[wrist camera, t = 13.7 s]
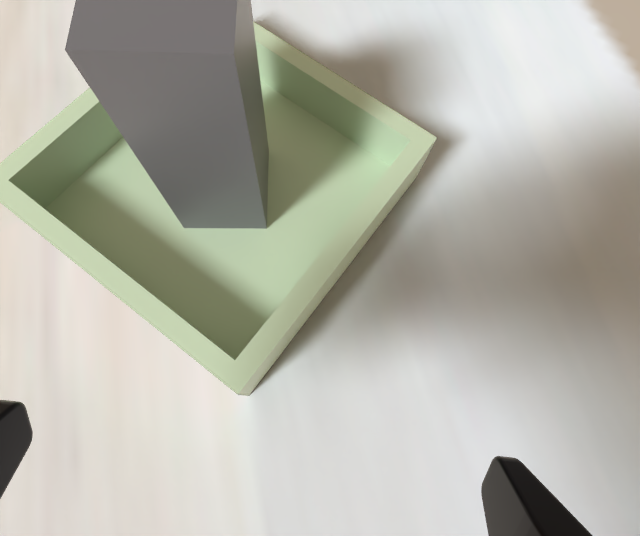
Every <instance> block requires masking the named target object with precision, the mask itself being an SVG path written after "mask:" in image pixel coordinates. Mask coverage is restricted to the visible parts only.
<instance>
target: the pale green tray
mask: <svg viewBox="0 0 640 536" xmlns="http://www.w3.org/2000/svg"><path fill="white" fill-rule="evenodd" d="M253 24H254V32H255V41H256V49H257V57H258V65H259V73H260V82H261V90H262V98H263V106H264V115H265V123H266V131H267V139H268V148H269V163H268V202H267V229H262V228H184V227H183V226H182V224H181V223H180V221H179V220H178V218H177V217H176V215H175V214H174V212H173V211H172V209H171V208H170V206H169V205H168V203H167V202H166V200H165V199H164V197H163V196H162V194H161V193H160V191H159V190H158V188H157V187H156V185H155V184H154V182H153V181H152V179H151V178H150V176H149V175H148V173H147V172H146V170H145V169H144V167H143V166H142V164H141V163H140V161H139V160H138V158H137V157H136V155H135V154H134V152H133V151H132V149H131V148H130V146H129V145H128V143H127V142H126V140H125V139H124V137H123V136H122V134H121V133H120V131H119V130H118V128H117V127H116V125H115V124H114V122H113V121H112V119H111V118H110V116H109V115H108V113H107V112H106V110H105V109H104V107H103V106H102V104H101V103H100V101H99V100H98V98H97V97H96V95H95V94H94V92H93V91H92V89H91V88H89V89H87V90H86V91H85V92H84V93H83V94H82V95H80V96H79V97H78V98H77V99H76V100H74V101H73V102H72V103H71V104H70V105H69V106H67V107H66V108H65V109H64V110H63V111H61V112H60V113H59V114H58V115H57V116H56V117H54V118H53V119H52V120H51V121H50V122H48V123H47V124H46V125H45V126H44V127H43V128H41V129H40V130H39V131H38V132H37V133H35V134H34V135H33V136H32V137H31V138H30V139H28V140H27V141H26V142H25V143H24V144H22V145H21V146H20V147H19V148H18V149H17V150H15V151H14V152H13V153H12V154H11V155H9V156H8V157H7V158H6V159H5V160H4V161H2V162H1V163H0V203H2V204H3V205H4V206H5V207H7V208H8V209H9V210H10V211H12V212H13V213H14V214H15V215H16V216H18V217H19V218H20V219H21V220H23V221H24V222H25V223H26V224H28V225H29V226H30V227H31V228H33V229H34V230H35V231H36V232H37V233H39V234H40V235H41V236H42V237H44V238H45V239H46V240H47V241H49V242H50V243H51V244H52V245H53V246H55V247H56V248H57V249H58V250H60V251H61V252H62V253H63V254H65V255H66V256H67V257H68V258H70V259H71V260H72V261H73V262H74V263H76V264H77V265H78V266H79V267H81V268H82V269H83V270H84V271H86V272H87V273H88V274H89V275H91V276H92V277H93V278H94V279H95V280H97V281H98V282H99V283H100V284H102V285H103V286H104V287H105V288H107V289H108V290H109V291H110V292H112V293H113V294H114V295H115V296H116V297H118V298H119V299H120V300H121V301H123V302H124V303H125V304H126V305H128V306H129V307H130V308H131V309H133V310H134V311H135V312H136V313H137V314H139V315H140V316H141V317H142V318H144V319H145V320H146V321H147V322H149V323H150V324H151V325H152V326H154V327H155V328H156V329H157V330H158V331H160V332H161V333H162V334H163V335H165V336H166V337H167V338H168V339H170V340H171V341H172V342H173V343H175V344H176V345H177V346H178V347H179V348H181V349H182V350H183V351H184V352H186V353H187V354H188V355H189V356H191V357H192V358H193V359H194V360H196V361H197V362H198V363H199V364H200V365H202V366H203V367H204V368H205V369H207V370H208V371H209V372H210V373H212V374H213V375H214V376H215V377H217V378H218V379H219V380H220V381H221V382H223V383H224V384H225V385H226V386H228V387H229V388H230V389H231V390H233V391H234V392H235V393H236V394H238V395H246V396H249V395H250V394H251V393H252V391H253V390H254V389H255V387H256V386H257V385H258V383H259V382H260V381H261V379H262V378H263V377H264V376H265V374H266V373H267V372H268V370H269V369H270V368H271V366H272V365H273V364H274V363H275V361H276V360H277V359H278V357H279V356H280V355H281V353H282V352H283V351H284V349H285V348H286V347H287V346H288V344H289V343H290V342H291V340H292V339H293V338H294V336H295V335H296V334H297V333H298V331H299V330H300V329H301V327H302V326H303V325H304V323H305V322H306V321H307V319H308V318H309V317H310V316H311V314H312V313H313V312H314V310H315V309H316V308H317V306H318V305H319V304H320V302H321V301H322V300H323V299H324V297H325V296H326V295H327V293H328V292H329V291H330V289H331V288H332V287H333V286H334V284H335V283H336V282H337V280H338V279H339V278H340V276H341V275H342V274H343V272H344V271H345V270H346V269H347V267H348V266H349V265H350V263H351V262H352V261H353V259H354V258H355V257H356V256H357V254H358V253H359V252H360V250H361V249H362V248H363V246H364V245H365V244H366V242H367V241H368V240H369V239H370V237H371V236H372V235H373V233H374V232H375V231H376V229H377V228H378V227H379V225H380V224H381V223H382V222H383V220H384V219H385V218H386V216H387V215H388V214H389V212H390V211H391V210H392V209H393V207H394V206H395V205H396V203H397V202H398V201H399V199H400V198H401V197H402V195H403V194H404V193H405V192H406V190H407V189H408V188H409V186H410V185H411V184H412V182H413V181H414V180H415V179H416V177H417V175H418V173H419V171H420V170H421V168H422V166H423V164H424V162H425V160H426V158H427V156H428V154H429V152H430V150H431V149H432V147H433V145H434V143H435V141H436V139H437V137H435V136H434V135H432V134H430V133H429V132H427V131H426V130H424V129H423V128H421V127H419V126H418V125H416V124H415V123H413V122H412V121H410V120H408V119H407V118H405V117H404V116H402V115H400V114H399V113H397V112H396V111H394V110H393V109H391V108H389V107H388V106H386V105H385V104H383V103H381V102H380V101H378V100H377V99H375V98H374V97H372V96H370V95H369V94H367V93H366V92H364V91H362V90H361V89H359V88H358V87H356V86H355V85H353V84H351V83H350V82H348V81H347V80H345V79H343V78H342V77H340V76H339V75H337V74H336V73H334V72H332V71H331V70H329V69H328V68H326V67H324V66H323V65H321V64H320V63H318V62H317V61H315V60H313V59H312V58H310V57H309V56H307V55H305V54H304V53H302V52H301V51H299V50H298V49H296V48H294V47H293V46H291V45H290V44H288V43H287V42H285V41H283V40H282V39H280V38H279V37H277V36H275V35H274V34H272V33H271V32H269V31H268V30H266V29H264V28H263V27H261V26H260V25H258V24H256V23H255V22H253Z"/></svg>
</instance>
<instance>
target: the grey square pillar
mask: <svg viewBox="0 0 640 536" xmlns="http://www.w3.org/2000/svg"><path fill="white" fill-rule="evenodd" d="M65 50H66V52H67V53H68V55H69V56H70V58H71V59H72V61H73V62H74V64H75V65H76V67H77V68H78V70H79V71H80V73H81V74H82V76H83V77H84V79H85V80H86V82H87V83H88V85H89V86H90V88H91V89H92V91H93V92H94V94H95V95H96V97H97V98H98V100H99V101H100V103H101V104H102V106H103V107H104V109H105V110H106V112H107V113H108V115H109V116H110V118H111V119H112V121H113V122H114V124H115V125H116V127H117V128H118V130H119V131H120V133H121V134H122V136H123V137H124V139H125V140H126V142H127V143H128V145H129V146H130V148H131V149H132V151H133V152H134V154H135V155H136V157H137V158H138V160H139V161H140V163H141V164H142V166H143V167H144V169H145V170H146V172H147V173H148V175H149V176H150V178H151V179H152V181H153V182H154V184H155V185H156V187H157V188H158V190H159V191H160V193H161V194H162V196H163V197H164V199H165V200H166V202H167V203H168V205H169V206H170V208H171V209H172V211H173V212H174V214H175V215H176V217H177V218H178V220H179V221H180V223H181V224H182V226H183V227H184V228H262V229H267V202H268V163H269V148H268V139H267V131H266V123H265V115H264V106H263V98H262V90H261V82H260V73H259V65H258V57H257V49H256V41H255V32H254V24H253V16H252V8H251V0H76V2H75V7H74V11H73V16H72V20H71V25H70V30H69V34H68V39H67V43H66V48H65Z"/></svg>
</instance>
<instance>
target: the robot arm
mask: <svg viewBox="0 0 640 536" xmlns="http://www.w3.org/2000/svg"><path fill="white" fill-rule="evenodd" d="M32 434H33V432H32V428H31V424H30V421H29V417H28V414H27V410H26V407H25V405H24V404H23V403H21V402H16V401H7V400H0V499H1V497H2V495H3V493H4V491H5V489H6V488H7V486H8V484H9V482H10V480H11V479H12V477H13V475H14V473H15V471H16V470H17V468H18V466H19V464H20V462H21V461H22V459H23V457H24V455H25V453H26V451H27V450H28V448H29V446H30V444H31V441H32ZM481 492H482V500H483V506H484V512H485V517H486V523H487V529H488V534H489V536H592V535H591V534H590V533H589V532H588V530H587V529H586V528H585V527H584V526H583V525H582V524H581V523H580V522H579V521H578V520H577V519H576V518H575V517H574V516H573V515H572V514H571V513H570V512H569V511H568V510H567V509H566V508H565V507H564V506H563V505H562V504H561V503H560V502H559V500H558V499H557V498H556V497H555V496H554V495H553V494H552V493H551V492H550V491H549V490H548V489H547V488H546V487H545V486H544V485H543V484H542V483H541V482H540V481H539V480H538V479H537V478H536V477H535V476H534V475H533V474H532V473H531V472H530V470H529V469H528V468H527V467H526V466H525V465H524V464H523V463H522V462H521V461H519V460H518V459H516V458H511V457H502V456H496V457H495V458H494V459H493V460H492V462H491V465H490V467H489V469H488V471H487V474H486V476H485V478H484V480H483V483H482V490H481Z"/></svg>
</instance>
